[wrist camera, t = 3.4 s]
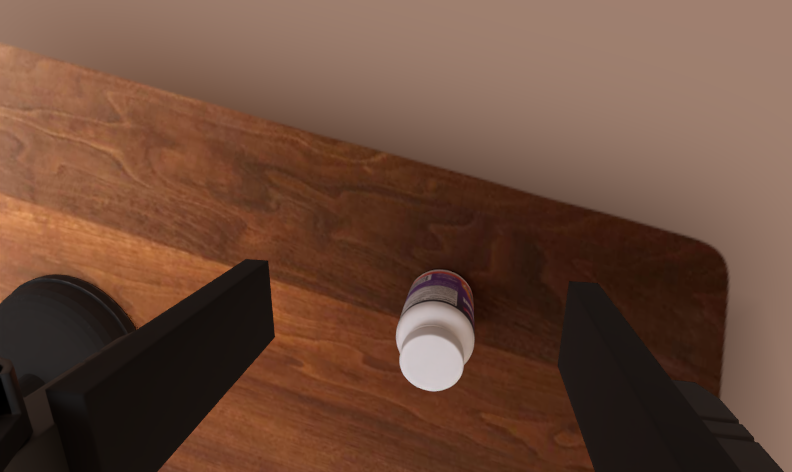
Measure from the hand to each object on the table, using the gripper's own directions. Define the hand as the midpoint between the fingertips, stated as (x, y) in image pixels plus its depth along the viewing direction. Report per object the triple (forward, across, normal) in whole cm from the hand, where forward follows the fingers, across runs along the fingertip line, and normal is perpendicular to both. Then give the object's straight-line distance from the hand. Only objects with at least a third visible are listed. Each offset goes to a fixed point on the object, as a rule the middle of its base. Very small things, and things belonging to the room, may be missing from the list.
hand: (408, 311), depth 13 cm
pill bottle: (+21, 0, -9) cm, 23 cm away
